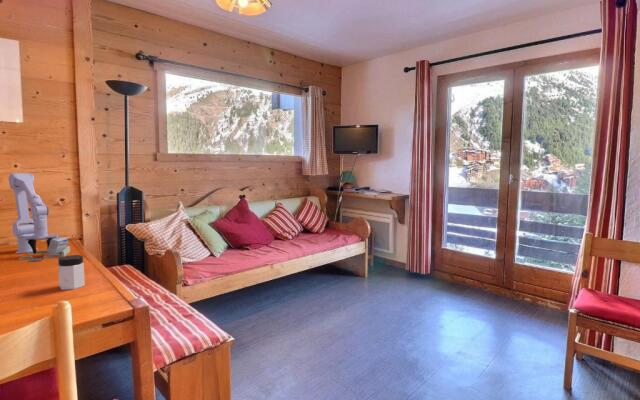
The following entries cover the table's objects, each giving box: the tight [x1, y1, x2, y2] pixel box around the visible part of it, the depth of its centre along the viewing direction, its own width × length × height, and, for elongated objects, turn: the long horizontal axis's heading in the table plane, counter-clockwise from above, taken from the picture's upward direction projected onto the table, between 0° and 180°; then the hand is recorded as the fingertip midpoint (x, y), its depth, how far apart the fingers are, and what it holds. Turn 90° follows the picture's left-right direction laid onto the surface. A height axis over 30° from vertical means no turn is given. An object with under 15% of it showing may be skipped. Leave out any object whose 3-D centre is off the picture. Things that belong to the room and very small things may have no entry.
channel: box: [19, 245, 71, 261], centre depth 196 cm, size 14×19×3 cm
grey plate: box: [27, 257, 45, 263], centre depth 196 cm, size 28×7×1 cm, turn 8°
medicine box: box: [46, 236, 69, 255], centre depth 197 cm, size 8×4×9 cm, turn 1°
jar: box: [57, 254, 86, 291], centre depth 145 cm, size 9×8×12 cm
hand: (42, 252), depth 195 cm, fingers open, 6 cm apart
